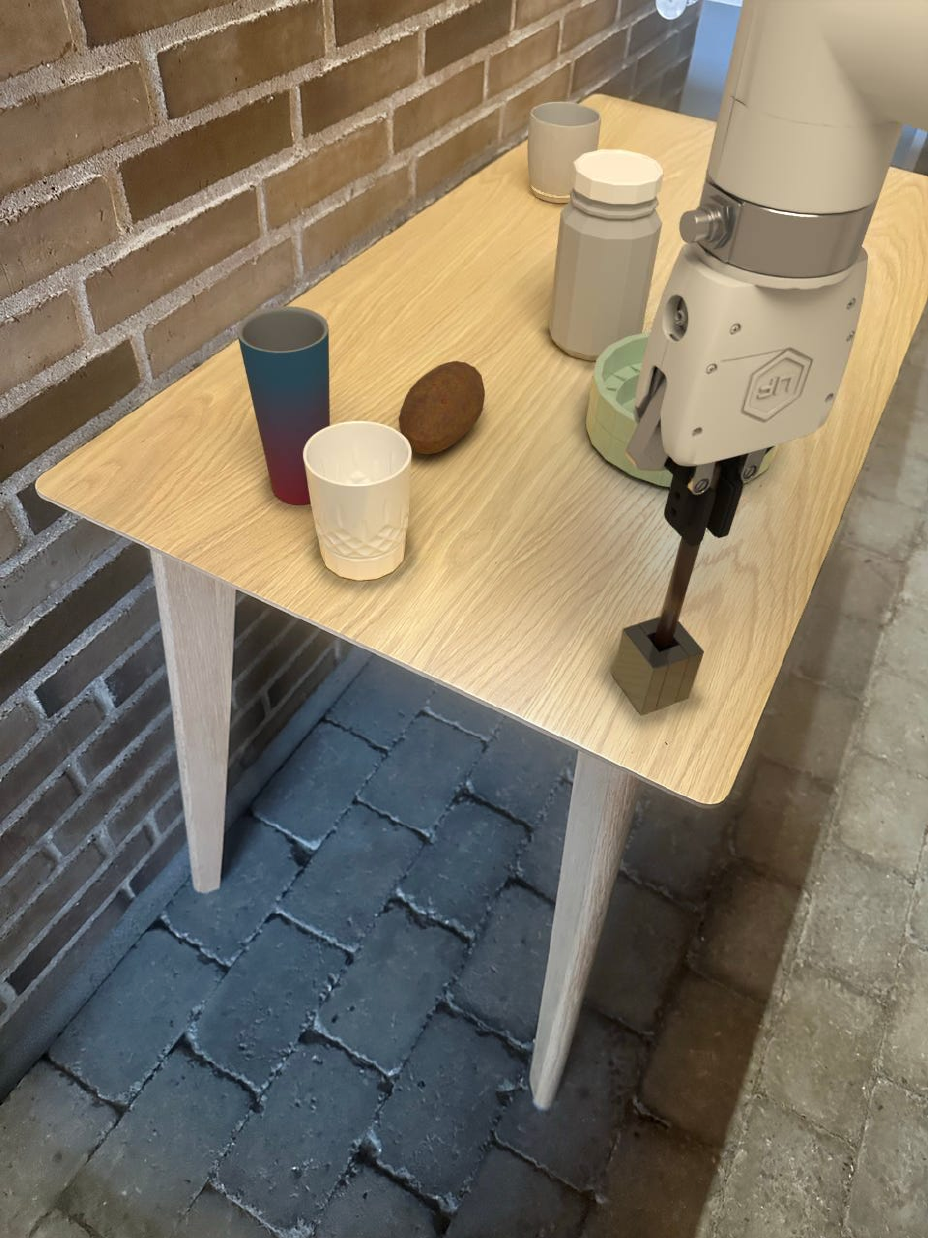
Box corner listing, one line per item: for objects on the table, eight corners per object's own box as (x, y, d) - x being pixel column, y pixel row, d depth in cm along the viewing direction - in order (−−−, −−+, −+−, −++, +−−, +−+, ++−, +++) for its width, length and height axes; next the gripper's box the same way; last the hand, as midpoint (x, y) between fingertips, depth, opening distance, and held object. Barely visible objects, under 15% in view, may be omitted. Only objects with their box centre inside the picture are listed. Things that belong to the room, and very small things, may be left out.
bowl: (703, 370, 96) (716, 316, 92) (813, 468, 85) (834, 412, 81) (552, 406, 91) (559, 350, 87) (649, 515, 80) (662, 458, 76)
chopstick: (652, 678, 67) (716, 451, 53) (661, 690, 67) (728, 463, 52) (638, 683, 67) (698, 456, 53) (647, 695, 66) (710, 468, 52)
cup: (356, 480, 82) (347, 322, 71) (307, 522, 78) (289, 362, 67) (296, 453, 84) (277, 297, 73) (245, 492, 80) (217, 333, 69)
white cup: (432, 552, 76) (433, 451, 69) (361, 602, 72) (355, 500, 64) (365, 508, 79) (359, 407, 72) (293, 553, 75) (280, 451, 68)
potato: (381, 464, 84) (379, 397, 79) (430, 397, 91) (431, 332, 86) (452, 483, 82) (454, 416, 77) (495, 413, 90) (500, 348, 85)
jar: (635, 371, 96) (669, 192, 83) (541, 358, 97) (559, 179, 84) (642, 324, 102) (674, 151, 89) (553, 312, 103) (572, 140, 90)
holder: (658, 659, 69) (671, 611, 65) (689, 698, 66) (704, 651, 63) (611, 675, 68) (622, 628, 64) (641, 716, 65) (654, 669, 61)
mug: (574, 213, 121) (584, 131, 114) (512, 198, 124) (518, 116, 117) (611, 180, 129) (623, 101, 122) (552, 166, 132) (560, 88, 125)
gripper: (684, 286, 38) (615, 604, 51) (968, 229, 43) (837, 533, 56) (592, 212, 43) (551, 521, 56) (857, 168, 47) (761, 462, 61)
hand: (695, 525), depth 56 cm, fingers closed on chopstick, 1 cm apart
